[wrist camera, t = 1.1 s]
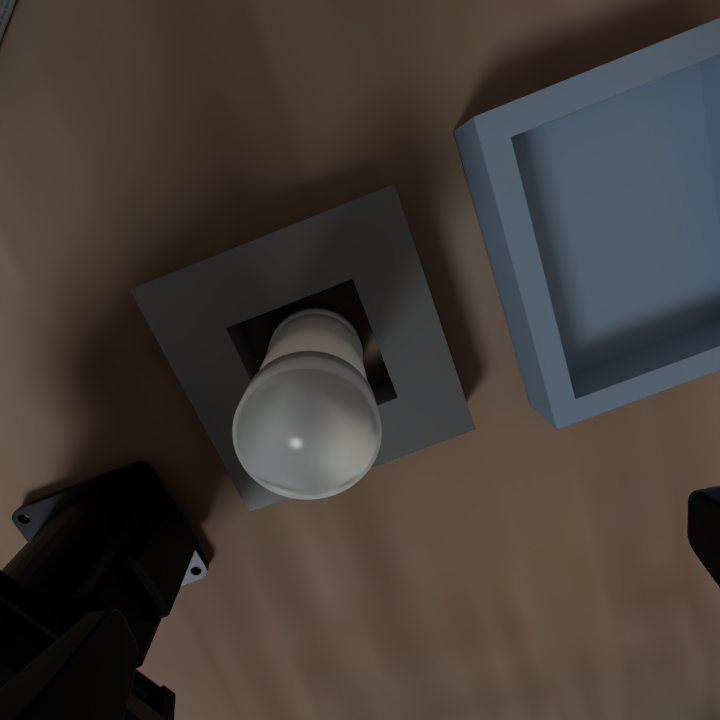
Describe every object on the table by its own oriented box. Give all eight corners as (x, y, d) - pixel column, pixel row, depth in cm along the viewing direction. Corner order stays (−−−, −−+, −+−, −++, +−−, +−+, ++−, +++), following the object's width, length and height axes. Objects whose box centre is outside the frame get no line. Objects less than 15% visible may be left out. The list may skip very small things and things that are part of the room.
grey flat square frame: (257, 485, 21) (249, 512, 19) (150, 282, 18) (129, 289, 16) (461, 409, 20) (475, 429, 19) (387, 187, 18) (394, 183, 16)
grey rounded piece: (292, 404, 20) (269, 518, 12) (256, 325, 19) (205, 397, 11) (373, 373, 20) (402, 470, 12) (341, 291, 19) (350, 341, 11)
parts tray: (530, 405, 21) (556, 429, 18) (453, 131, 17) (473, 116, 15) (744, 326, 20) (800, 340, 18) (711, 27, 17) (775, -5, 14)
